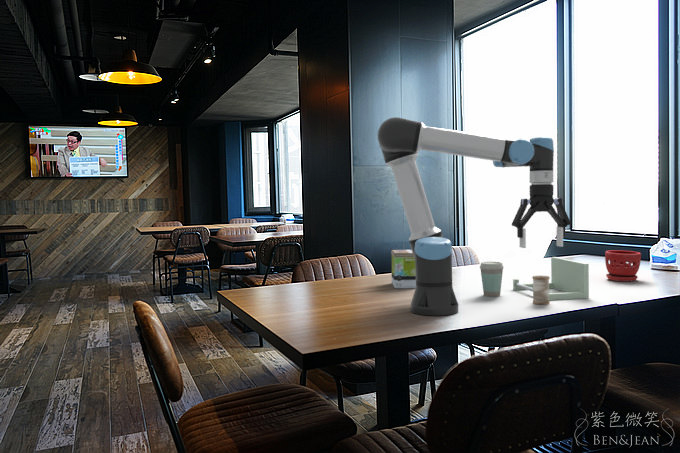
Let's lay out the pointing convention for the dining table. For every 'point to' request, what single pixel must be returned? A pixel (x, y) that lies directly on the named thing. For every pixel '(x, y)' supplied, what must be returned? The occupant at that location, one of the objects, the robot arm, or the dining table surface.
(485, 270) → the coffee cup
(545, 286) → the spool
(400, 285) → the tea box
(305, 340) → the dining table surface
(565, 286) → the pale green rack stand
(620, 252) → the plant pot
